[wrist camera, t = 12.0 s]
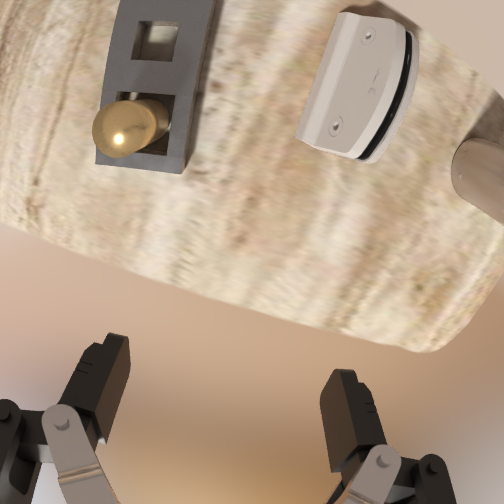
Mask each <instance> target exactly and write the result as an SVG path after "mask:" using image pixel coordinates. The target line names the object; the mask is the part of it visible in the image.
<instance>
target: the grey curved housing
mask: <svg viewBox="0 0 504 504" xmlns="http://www.w3.org/2000/svg"><path fill="white" fill-rule="evenodd" d="M418 66H419V42H418V40H417V38H416V37H415V36H414V34H413V33H412V32H411V31H409V30H405V27H404V26H403V25H402V24H400V23H398V22H396V21H395V20H393V19H387V18H379V17H370V16H361V15H357V14H354V13H350V12H342V13H338V16H337V18H336V21H335V24H334V27H333V30H332V32H331V35H330V38H329V41H328V43H327V46H326V49H325V52H324V54H323V57H322V60H321V63H320V65H319V68H318V71H317V74H316V77H315V79H314V82H313V85H312V88H311V90H310V93H309V96H308V99H307V101H306V104H305V107H304V110H303V113H302V115H301V118H300V121H299V124H298V126H297V129H296V132H295V135H294V137H295V138H297V139H299V140H301V141H303V142H305V143H307V144H308V145H310V146H312V147H314V148H315V149H318V150H322V151H325V152H327V153H331V154H334V155H338V156H341V157H345V158H348V159H352V160H355V161H358V162H362V163H374V162H376V161H377V160H378V158H379V157H380V156H381V155H382V153H383V152H384V151H385V149H386V148H387V146H388V145H389V143H390V142H391V140H392V139H393V137H394V135H395V134H396V132H397V130H398V128H399V126H400V124H401V122H402V121H403V118H404V116H405V114H406V111H407V109H408V106H409V104H410V101H411V98H412V95H413V92H414V88H415V84H416V79H417V74H418Z"/></svg>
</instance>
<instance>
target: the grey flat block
mask: <svg viewBox="0 0 504 504" xmlns="http://www.w3.org/2000/svg"><path fill="white" fill-rule="evenodd" d="M216 2H217V0H120V3H119V7H118V11H117V15H116V19H115V24H114V28H113V32H112V37H111V42H110V47H109V52H108V57H107V63H106V69H105V75H104V82H103V88H102V96H101V104H100V110H101V109H102V108H103V107H104V106H106V105H107V104H109V103H112V102H116V101H124V94H125V92H142V93H156V94H168V95H176V96H175V102H174V108H173V114H172V121H171V128H170V135H169V142H168V150H167V151H158V150H150V149H139V150H137V151H135V152H134V153H132V154H130V155H128V156H126V157H122V158H113V157H109V156H107V155H105V154H104V153H102V152H101V151H100V150H99V149H98V148H97V146H96V162H95V164H99V165H109V166H118V167H127V168H136V169H144V170H152V171H160V172H167V173H174V174H181V173H182V172H183V171H184V170H185V164H186V157H187V150H188V144H189V137H190V131H191V124H192V118H193V112H194V107H195V101H196V95H197V90H198V84H199V79H200V74H201V69H202V64H203V59H204V54H205V49H206V45H207V40H208V36H209V31H210V27H211V22H212V18H213V14H214V10H215V6H216ZM146 25H156V26H179V31H178V35H177V40H176V44H175V49H174V54H173V59H172V62H167V61H150V60H138V59H139V54H140V49H141V44H142V39H143V35H144V30H145V26H146Z"/></svg>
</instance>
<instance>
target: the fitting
mask: <svg viewBox="0 0 504 504" xmlns="http://www.w3.org/2000/svg"><path fill="white" fill-rule="evenodd" d="M168 125H169V115H168V112H167V110H166V108H165V107H164V106H163V105H162V104H161V103H160V102H158V101H156V100H151V99H144V100H128V101H116V102H112V103H109V104H107V105H106V106H104V107H103V108H102V109H101V110H100V111H99V112H98V114H97V115H96V117H95V119H94V122H93V127H92V135H93V139H94V142H95V144H96V146H97V148H98V149H99V150H100V151H101V152H102V153H104V154H105V155H107V156H109V157H113V158H122V157H126V156H128V155H130V154H132V153H134V152H135V151H137V150H139V149H141V148H143V147H145V146H147V145H148V144H150V143H152V142H154V141H156V140H158V139H159V138H161V137H162V136H163V135H164V134H165V132H166V130H167V128H168Z"/></svg>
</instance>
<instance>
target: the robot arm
mask: <svg viewBox="0 0 504 504" xmlns="http://www.w3.org/2000/svg"><path fill="white" fill-rule="evenodd" d="M451 175H452V182H453V186H454V188H455V190H456V192H457V193H458V195H459V196H460V197H461V198H463V199H464V200H466V201H467V202H469V203H471V204H472V205H474V206H475V207H477V208H478V209H480V210H481V211H483V212H484V213H486V214H487V215H489V216H490V217H492V218H493V219H495V220H496V221H498V222H499V223H501V224H502V225H504V146H503V145H500V144H497V143H494V142H491V141H488V140H485V139H482V138H478V137H476V138H470V139H468V140H466V141H465V142H464V143H462V145H461V146H460V147H459V148H458V150H457V152H456V154H455V156H454V159H453V163H452V171H451ZM130 366H131V363H130V350H129V339H128V337H126V336H122V335H118V334H114V333H108V334H107V336H106V338H105V340H104V342H103V344H99V343H95V342H94V343H93V344H92V345H91V346H89V347H88V348H87V349H86V350H85V351H84V353H83V355H82V357H81V358H80V361H79V363H78V364H77V366H76V368H75V371H74V372H73V374H72V376H71V378H70V380H69V382H68V384H67V386H66V389H65V390H64V392H63V395H62V397H61V399H60V401H59V402H58V403H57V404H56V405H53V406H51V407H49V408H48V409H47V410H46V411H30V410H20V409H19V407H18V405H16V403H14V402H13V401H11V400H8V399H1V400H0V504H31V502H32V498H33V494H34V490H35V486H36V483H37V479H38V476H39V472H40V469H41V465H42V462H43V463H54V464H55V466H56V469H57V472H58V476H59V477H58V482H59V485H60V488H61V490H62V493H63V495H64V498H65V500H66V502H67V504H120V502H119V500H118V498H117V497H116V495H115V493H114V491H113V489H112V487H111V486H110V483H109V482H108V479H107V478H106V475H105V473H104V471H103V469H102V467H101V465H100V463H99V461H98V458H97V456H96V454H95V450H96V446H97V443H98V442H99V443H102V444H105V445H106V443H107V440H108V437H109V434H110V431H111V427H112V424H113V421H114V418H115V415H116V412H117V409H118V406H119V403H120V400H121V397H122V394H123V391H124V389H125V386H126V383H127V380H128V377H129V373H130ZM320 409H321V414H322V420H323V426H324V432H325V438H326V443H327V450H328V456H329V462H330V468H331V472H332V473H333V472H341V476H342V478H341V479H340V480H339V482H338V483H337V484H336V486H335V488H334V489H333V491H332V492H331V494H330V495H329V497H328V498H327V499H326V501H325V502H324V504H457V503H456V499H455V495H454V491H453V488H452V484H451V480H450V477H449V473H448V470H447V466H446V464H445V462H444V461H443V459H442V458H440V457H439V456H437V455H435V454H428V455H425V456H424V457H423V458H421V459H420V460H415V459H410V458H404V457H401V456H400V455H399V453H398V452H397V451H396V450H395V449H394V448H393V447H391V446H388V445H387V442H386V439H385V436H384V432H383V429H382V426H381V422H380V419H379V416H378V413H377V409H376V406H375V405H374V400H373V397H372V394H371V392H370V390H369V389H368V388H367V386H366V385H365V384H364V383H359V382H358V379H357V376H356V373H355V371H354V370H349V369H348V370H347V369H335V370H334V371H333V372H332V374H331V376H330V378H329V380H328V382H327V383H326V385H325V387H324V389H323V390H322V393H321V396H320Z"/></svg>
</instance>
